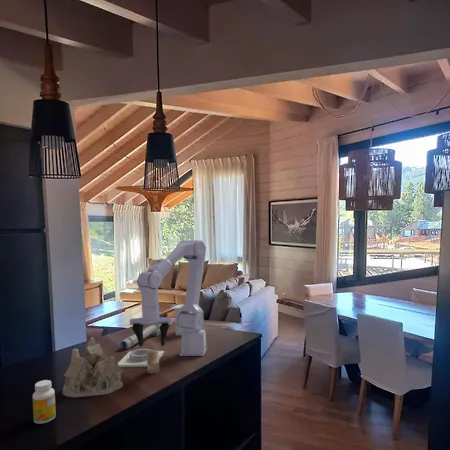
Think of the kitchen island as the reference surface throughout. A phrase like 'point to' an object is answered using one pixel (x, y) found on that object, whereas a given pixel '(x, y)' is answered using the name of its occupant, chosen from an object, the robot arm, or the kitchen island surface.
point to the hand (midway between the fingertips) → (152, 345)
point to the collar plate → (136, 358)
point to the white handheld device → (147, 331)
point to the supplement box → (176, 311)
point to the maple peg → (153, 361)
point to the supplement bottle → (44, 402)
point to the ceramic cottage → (92, 373)
